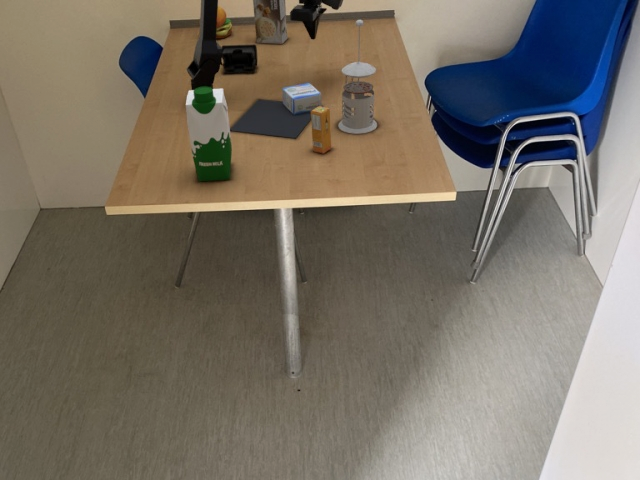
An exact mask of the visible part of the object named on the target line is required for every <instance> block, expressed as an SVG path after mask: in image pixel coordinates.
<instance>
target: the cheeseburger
mask: <svg viewBox="0 0 640 480" xmlns="http://www.w3.org/2000/svg"><path fill="white" fill-rule="evenodd" d="M198 25H199V26H200V20H199V22H198ZM232 28H233V24H232V20H231V19H230V18H227V13H226V10H225V9H223V7H221V6H220V5H218V11H217V30H216V39H224V38H227V37H229V36H230V35H231V34H232Z"/></svg>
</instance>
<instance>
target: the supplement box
mask: <svg viewBox="0 0 640 480" xmlns="http://www.w3.org/2000/svg"><path fill="white" fill-rule="evenodd" d="M330 110H331V109H330V108H328V107H324V106H322V107H320V106H318V107H317V108H315V109H314V110H312V111H311V120H310V124H311V136H312V137H311V139H312V151H313V152H315V153H319V154H322V155H324V154H325V153H326V152H328V151H330V150H331V149H332V136H331V135H332V134H331V131H332V130H331V111H330Z"/></svg>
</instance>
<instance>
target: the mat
mask: <svg viewBox="0 0 640 480" xmlns="http://www.w3.org/2000/svg"><path fill="white" fill-rule="evenodd" d="M310 122H311V111H310V112H305V113H300V114H296V115H294V114H293V113H292V112H291V111H290V110H289V109H288V108H287V107H286V106H285V105H284V104H283V100H282V101H280V100H272V99H271V100H270V99H262V98H259V99H257V100H256V101H255V102H254V103H253V104H252V105H251V107H249V108H248V109H247V111H246V112H245V113H244V114H243V115H242V116H241V117H240V118H239V119H238V120H237V121H236V122H235V123H234V124H233V125H232V126H231V127H230V132H234V133H235V132H236V133H243V134H244V133H245V134H253V135H260V136H261V135H262V136H270V137H278V138H286V139H294V140H296V139H297V138H298V137H299V136H300V134H301V133H302V132H303V131H304V129H305V128H306V126H307V125H308V124H309V123H310Z"/></svg>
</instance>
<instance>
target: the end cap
mask: <svg viewBox="0 0 640 480" xmlns="http://www.w3.org/2000/svg"><path fill="white" fill-rule="evenodd" d="M221 47H222V49H223V54H222V61H223V62H222V64H223V65H222V67H223V70H224V71H223V73H224V75H238V74H240V75H241V74H242V75H243V74H255V73H256V69H257V66H258V48H257V45H256V44H226V45H223V44H222V45H221Z"/></svg>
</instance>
